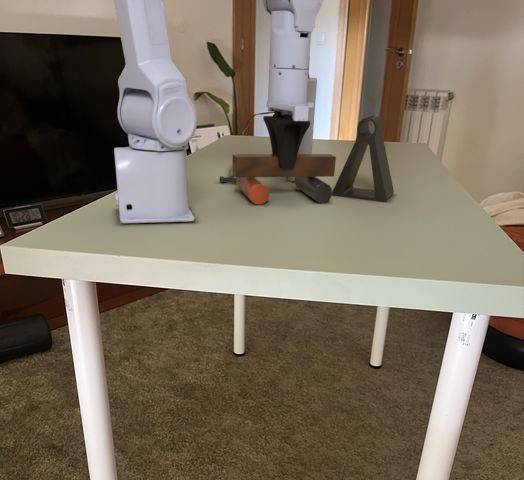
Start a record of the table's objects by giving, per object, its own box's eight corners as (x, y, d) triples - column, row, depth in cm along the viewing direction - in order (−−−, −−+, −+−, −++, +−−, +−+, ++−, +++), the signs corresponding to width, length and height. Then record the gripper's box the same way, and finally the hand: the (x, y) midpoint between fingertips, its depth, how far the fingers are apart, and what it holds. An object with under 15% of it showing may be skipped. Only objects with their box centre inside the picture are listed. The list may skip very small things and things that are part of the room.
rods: (249, 204, 83) (250, 184, 82) (235, 190, 91) (236, 171, 90) (331, 203, 86) (333, 183, 85) (310, 189, 95) (311, 170, 93)
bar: (235, 177, 84) (235, 156, 83) (232, 174, 86) (232, 154, 85) (334, 176, 88) (336, 156, 87) (328, 173, 90) (330, 154, 89)
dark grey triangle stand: (331, 195, 91) (339, 116, 85) (342, 188, 96) (349, 113, 90) (386, 201, 88) (397, 120, 82) (393, 194, 93) (405, 117, 87)
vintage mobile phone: (309, 177, 104) (321, 22, 92) (309, 182, 99) (321, 20, 87) (289, 176, 104) (298, 21, 92) (288, 181, 99) (297, 19, 88)
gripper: (332, 71, 75) (323, 174, 81) (300, 68, 87) (294, 158, 94) (282, 69, 73) (277, 175, 80) (256, 66, 86) (253, 158, 92)
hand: (283, 166), depth 87 cm, fingers closed on bar, 2 cm apart
